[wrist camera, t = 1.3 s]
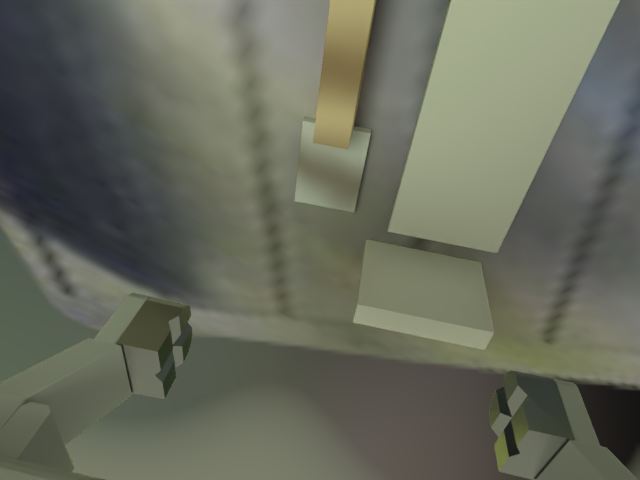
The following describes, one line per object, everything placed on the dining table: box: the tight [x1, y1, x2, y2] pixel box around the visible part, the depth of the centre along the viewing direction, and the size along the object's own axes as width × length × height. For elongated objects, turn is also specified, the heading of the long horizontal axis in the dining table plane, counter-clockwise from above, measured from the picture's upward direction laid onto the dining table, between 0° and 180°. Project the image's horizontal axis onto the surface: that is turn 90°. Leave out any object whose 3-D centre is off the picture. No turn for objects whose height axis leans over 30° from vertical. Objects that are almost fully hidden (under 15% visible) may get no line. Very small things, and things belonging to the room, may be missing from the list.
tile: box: [353, 239, 494, 350], centre depth 36 cm, size 2×10×8 cm, turn 83°
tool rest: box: [388, 0, 620, 253], centre depth 30 cm, size 20×9×1 cm, turn 173°
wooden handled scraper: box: [295, 0, 377, 213], centre depth 30 cm, size 17×5×4 cm, turn 173°
